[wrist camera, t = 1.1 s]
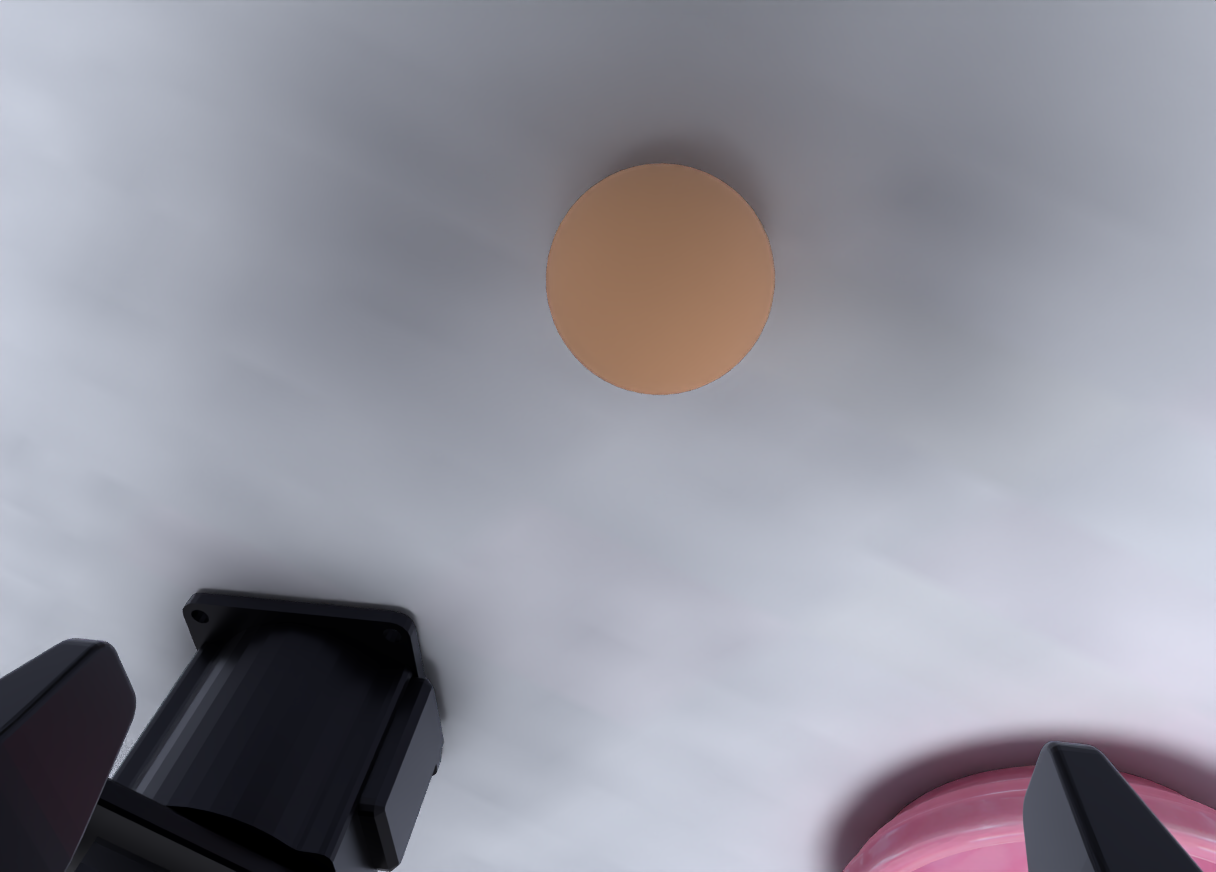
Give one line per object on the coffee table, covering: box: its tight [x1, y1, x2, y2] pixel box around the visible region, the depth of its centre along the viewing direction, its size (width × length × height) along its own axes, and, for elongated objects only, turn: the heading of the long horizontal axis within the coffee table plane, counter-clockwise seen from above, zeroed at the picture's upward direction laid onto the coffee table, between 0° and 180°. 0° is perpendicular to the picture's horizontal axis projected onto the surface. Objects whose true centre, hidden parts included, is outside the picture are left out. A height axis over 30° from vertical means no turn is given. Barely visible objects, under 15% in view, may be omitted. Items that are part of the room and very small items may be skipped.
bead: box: [546, 163, 775, 395], centre depth 17 cm, size 4×4×4 cm
